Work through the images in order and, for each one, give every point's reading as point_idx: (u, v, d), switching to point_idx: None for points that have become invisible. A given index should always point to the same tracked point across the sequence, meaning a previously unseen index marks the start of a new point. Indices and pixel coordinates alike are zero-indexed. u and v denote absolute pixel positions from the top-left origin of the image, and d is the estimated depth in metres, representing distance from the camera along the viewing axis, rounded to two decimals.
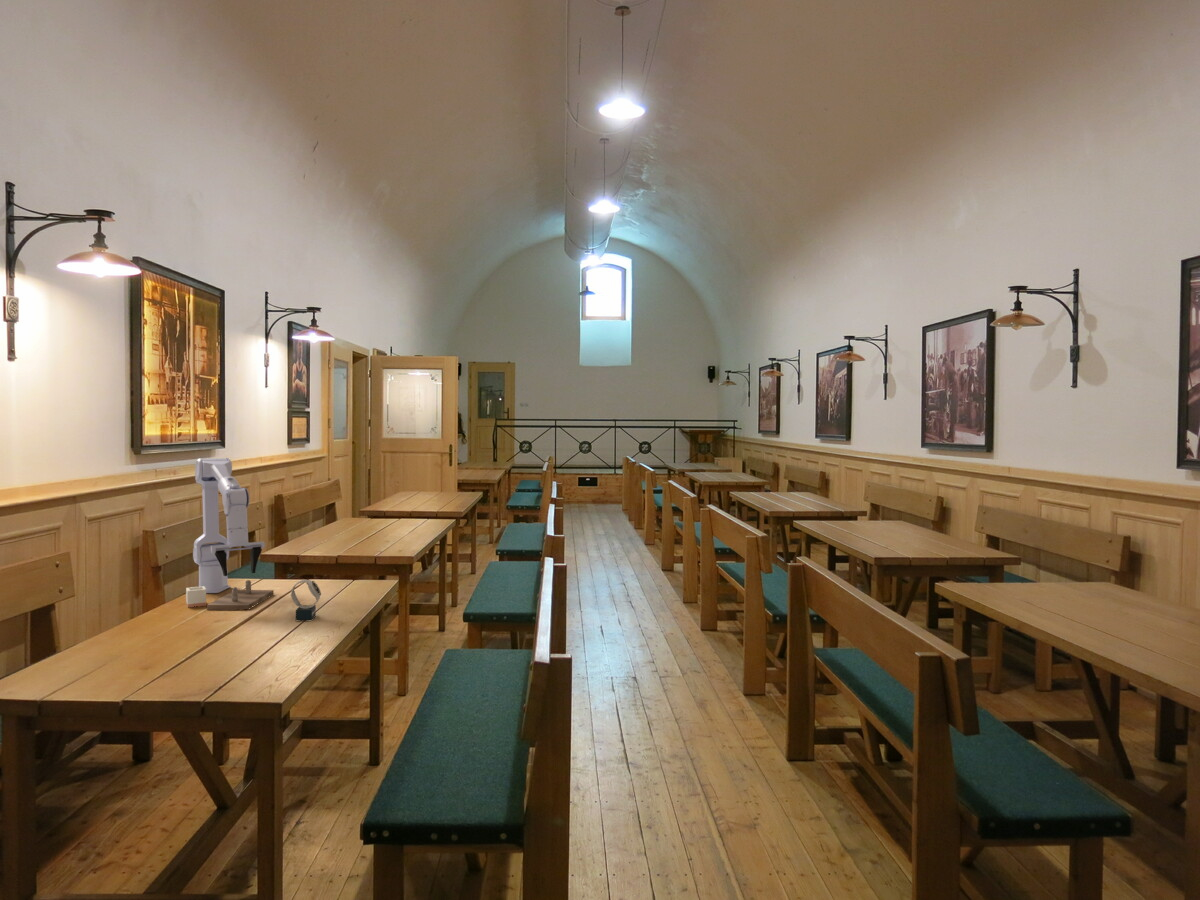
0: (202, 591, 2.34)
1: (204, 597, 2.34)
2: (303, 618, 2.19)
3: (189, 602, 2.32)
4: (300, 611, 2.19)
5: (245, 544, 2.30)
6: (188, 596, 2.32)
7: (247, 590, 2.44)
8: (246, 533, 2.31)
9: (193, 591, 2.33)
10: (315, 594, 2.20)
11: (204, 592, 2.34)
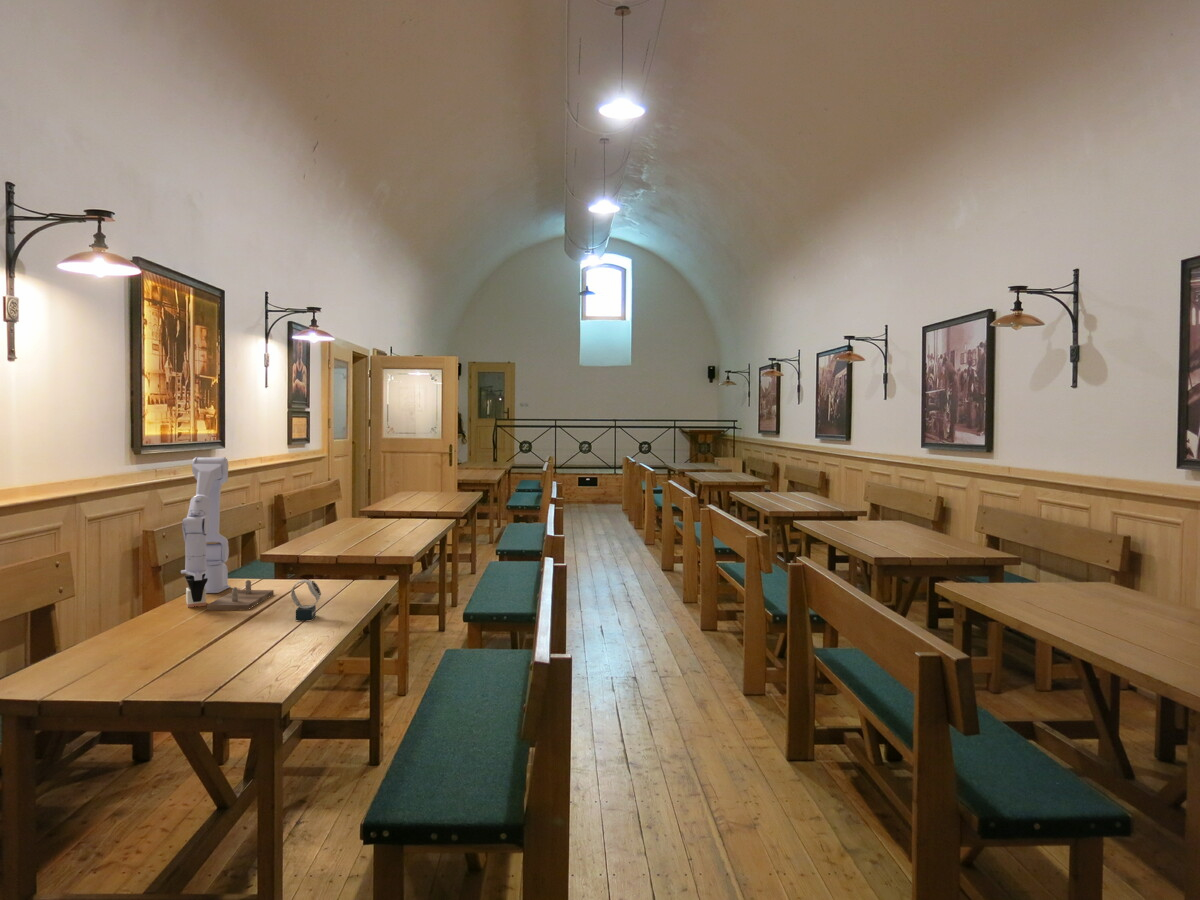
0: None
1: (204, 597, 2.34)
2: (303, 618, 2.19)
3: (189, 602, 2.32)
4: (300, 611, 2.19)
5: (186, 572, 2.32)
6: (188, 596, 2.32)
7: (247, 590, 2.44)
8: (189, 562, 2.32)
9: None
10: (315, 594, 2.20)
11: (204, 592, 2.34)
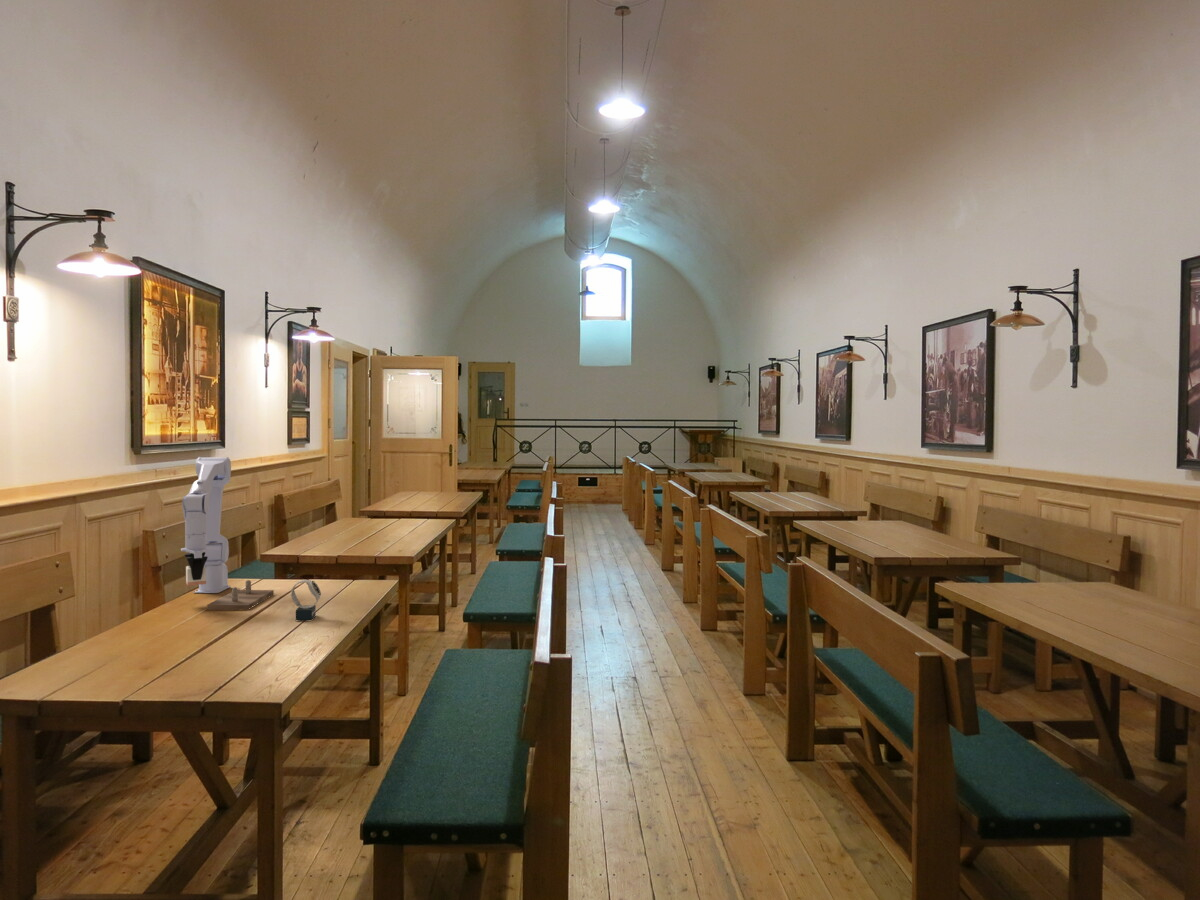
0: None
1: (204, 575, 2.34)
2: (303, 618, 2.19)
3: (189, 580, 2.32)
4: (300, 611, 2.19)
5: (186, 550, 2.32)
6: (188, 574, 2.32)
7: (247, 590, 2.44)
8: (189, 540, 2.32)
9: None
10: (315, 594, 2.20)
11: (204, 570, 2.34)
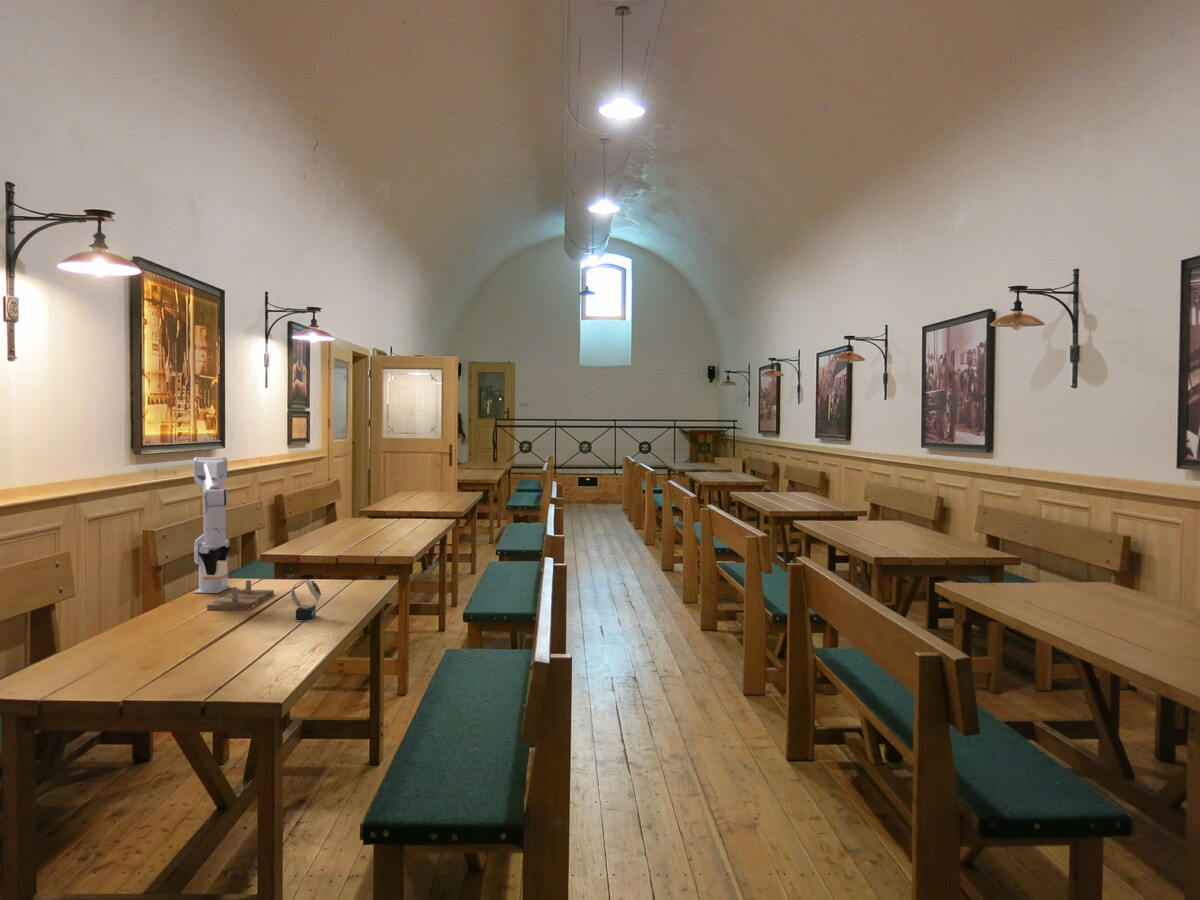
0: None
1: (218, 571, 2.32)
2: (303, 618, 2.19)
3: (204, 575, 2.32)
4: (300, 611, 2.19)
5: (203, 545, 2.33)
6: (203, 568, 2.32)
7: (247, 590, 2.44)
8: (205, 534, 2.32)
9: None
10: (315, 594, 2.20)
11: (218, 566, 2.32)
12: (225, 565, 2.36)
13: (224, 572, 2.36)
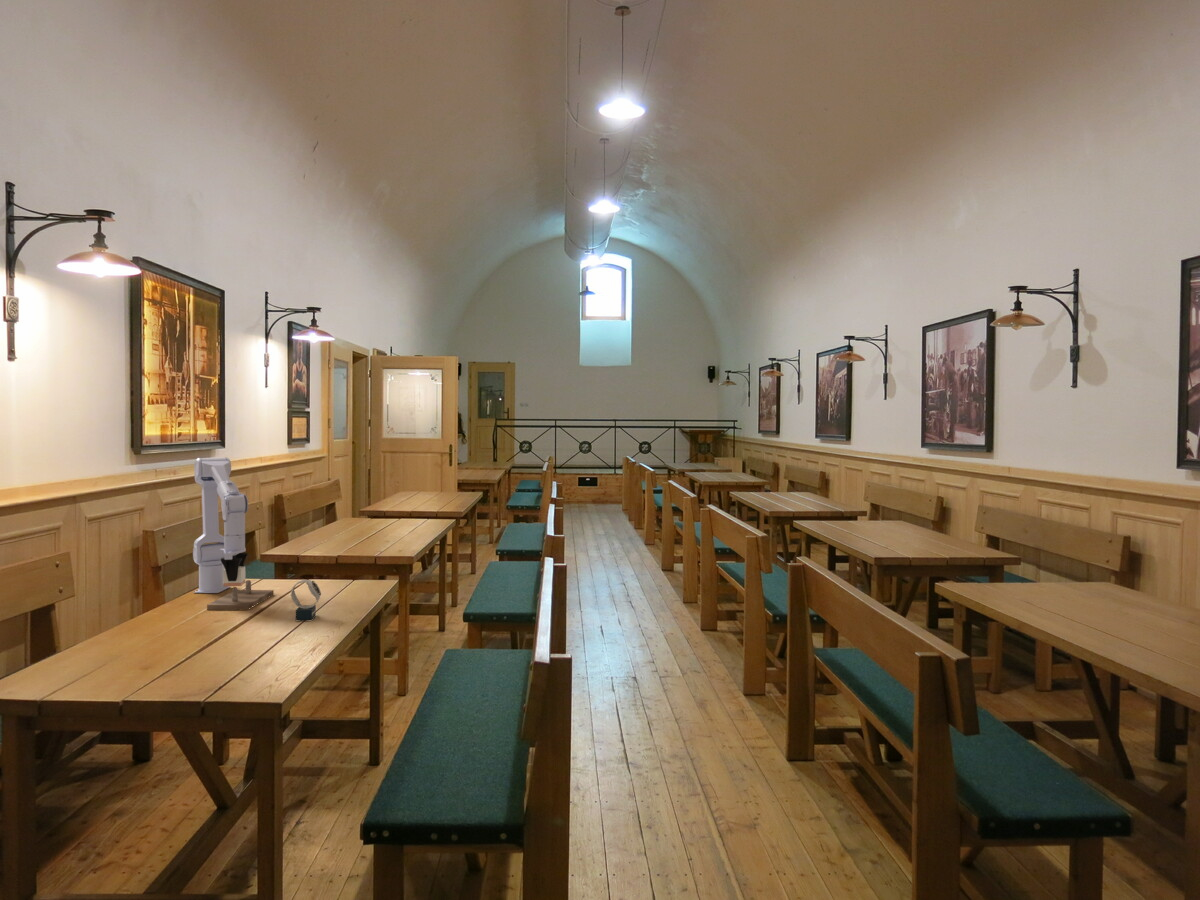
0: None
1: (239, 577, 2.33)
2: (303, 618, 2.19)
3: (225, 581, 2.32)
4: (300, 611, 2.19)
5: (223, 551, 2.32)
6: (224, 575, 2.32)
7: (247, 590, 2.44)
8: (226, 540, 2.32)
9: None
10: (315, 594, 2.20)
11: (239, 572, 2.33)
12: (244, 571, 2.36)
13: (244, 578, 2.36)
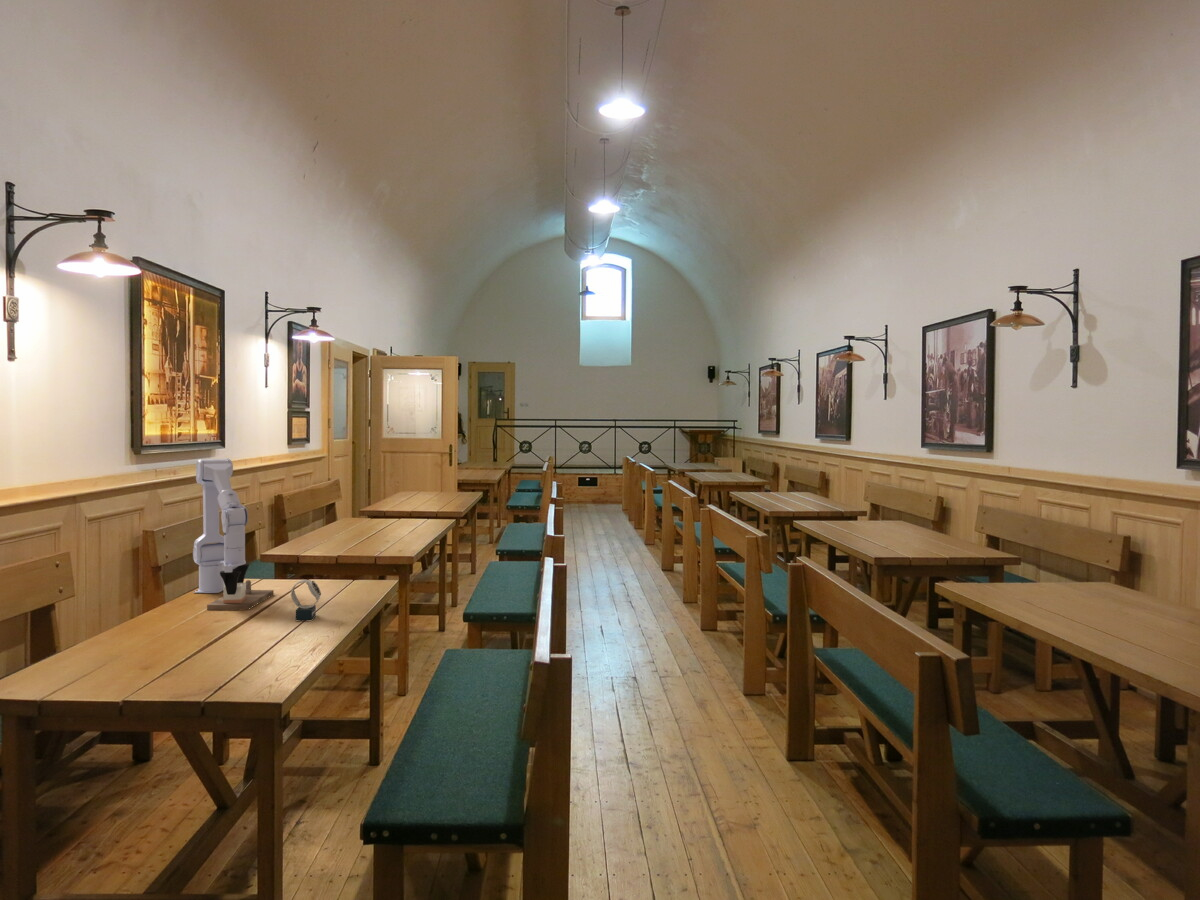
0: (237, 588, 2.33)
1: (239, 594, 2.33)
2: (303, 618, 2.19)
3: (225, 598, 2.32)
4: (300, 611, 2.19)
5: (223, 564, 2.33)
6: (224, 592, 2.32)
7: (247, 590, 2.44)
8: (226, 553, 2.32)
9: None
10: (315, 594, 2.20)
11: (239, 589, 2.33)
12: (244, 588, 2.37)
13: (244, 595, 2.36)
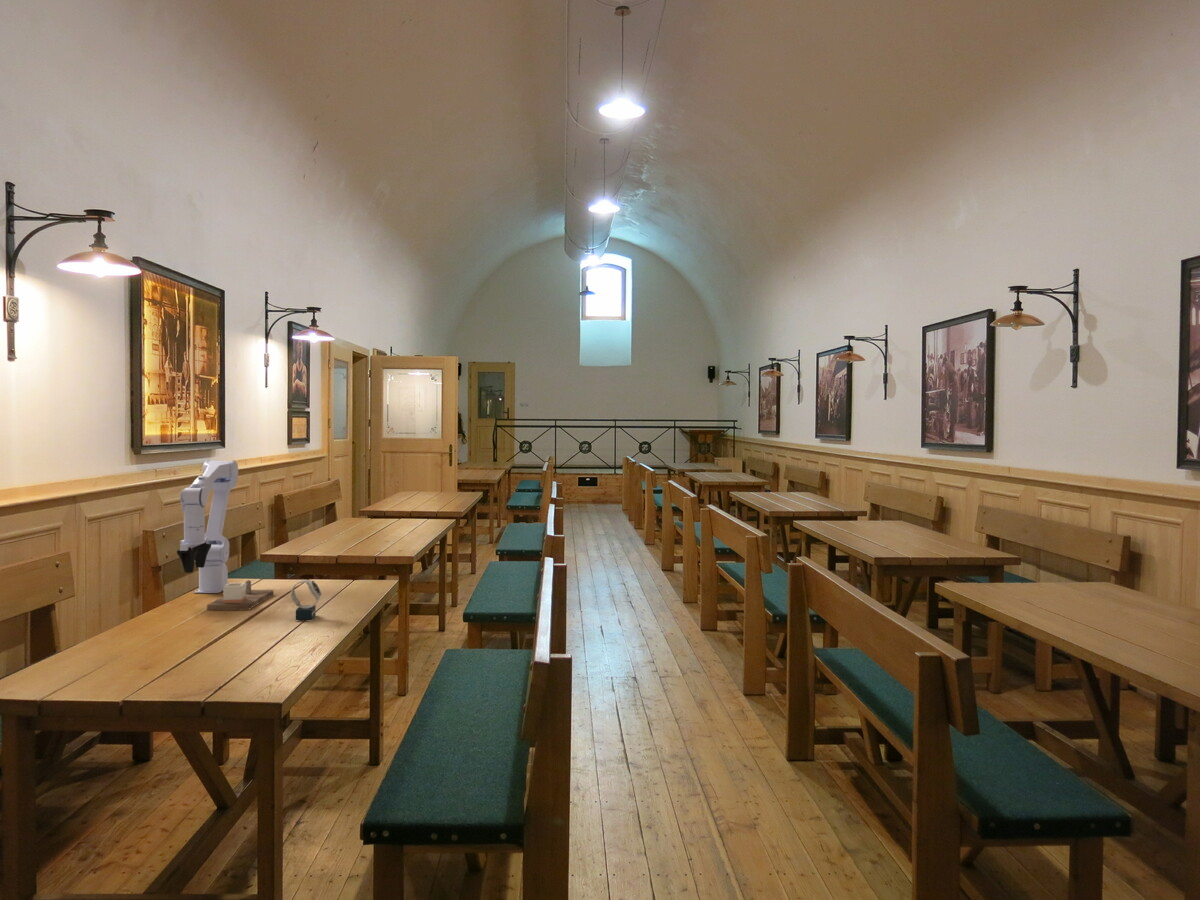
0: (237, 588, 2.33)
1: (239, 594, 2.33)
2: (303, 618, 2.19)
3: (225, 598, 2.32)
4: (300, 611, 2.19)
5: (183, 542, 2.37)
6: (224, 592, 2.32)
7: (247, 590, 2.44)
8: (184, 532, 2.37)
9: (229, 587, 2.32)
10: (315, 594, 2.20)
11: (239, 589, 2.33)
12: (244, 588, 2.37)
13: (244, 595, 2.36)
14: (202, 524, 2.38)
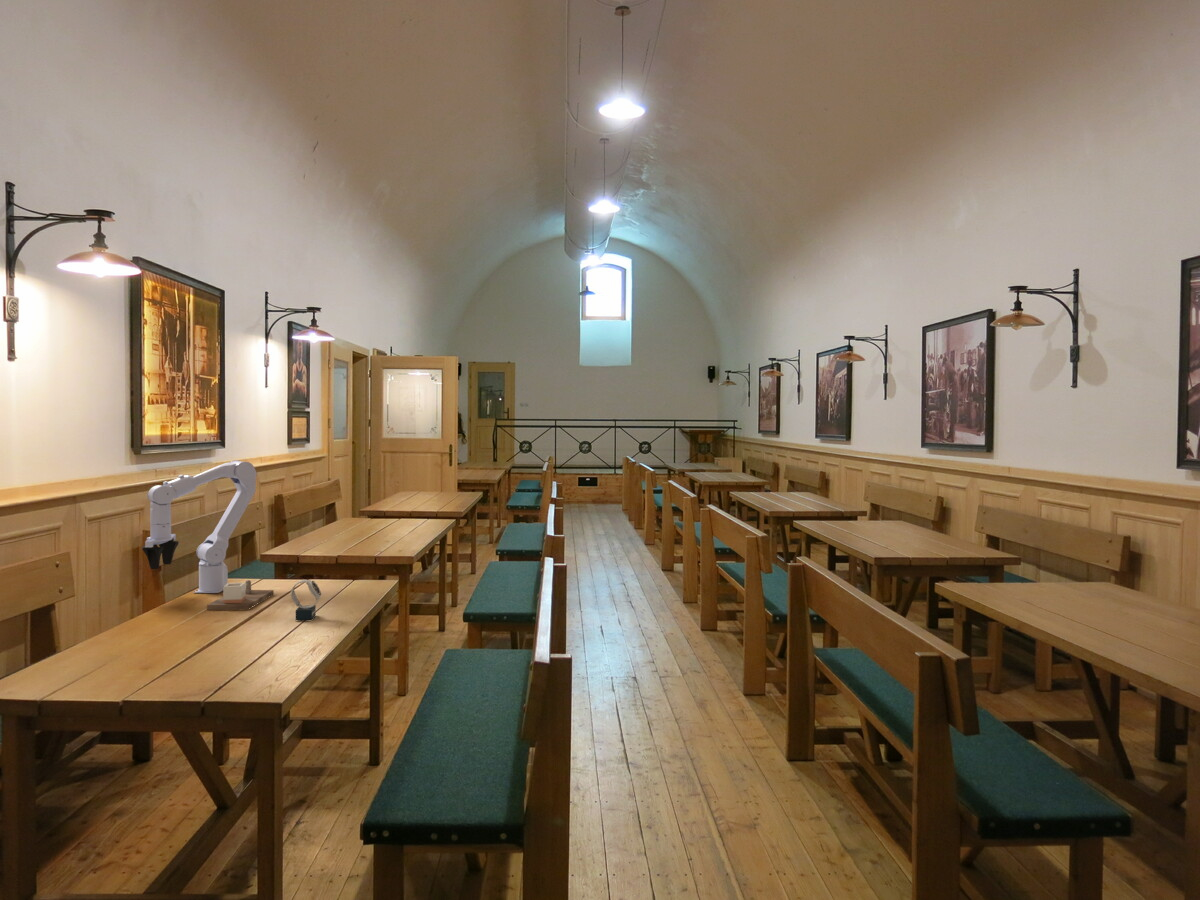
0: (237, 588, 2.33)
1: (239, 594, 2.33)
2: (303, 618, 2.19)
3: (225, 598, 2.32)
4: (300, 611, 2.19)
5: (149, 539, 2.41)
6: (224, 592, 2.32)
7: (247, 590, 2.44)
8: (151, 529, 2.41)
9: (229, 587, 2.32)
10: (315, 594, 2.20)
11: (239, 589, 2.33)
12: (244, 588, 2.37)
13: (244, 595, 2.36)
14: (160, 522, 2.40)
